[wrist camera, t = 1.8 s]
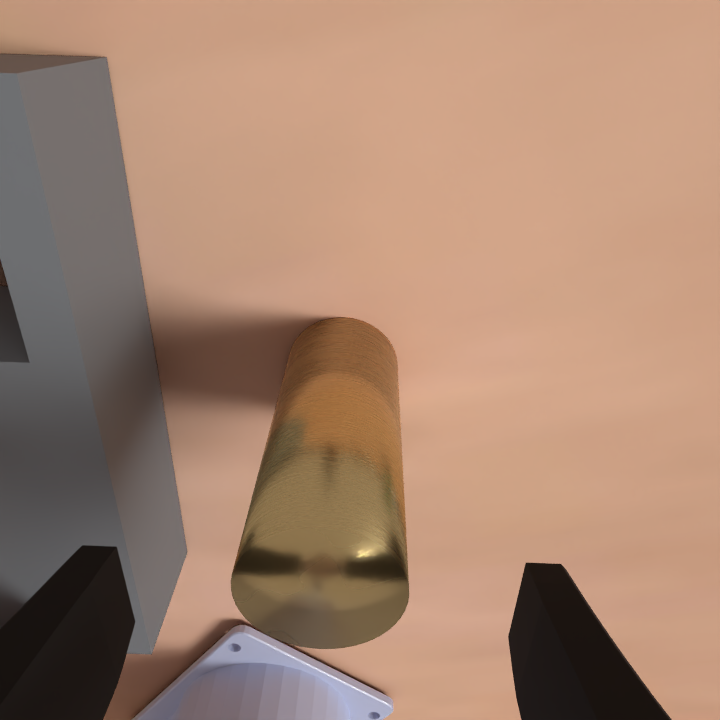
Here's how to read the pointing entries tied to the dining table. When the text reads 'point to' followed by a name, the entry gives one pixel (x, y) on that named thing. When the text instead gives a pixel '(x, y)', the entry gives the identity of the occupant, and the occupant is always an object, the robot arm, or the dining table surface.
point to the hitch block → (77, 349)
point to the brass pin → (329, 496)
